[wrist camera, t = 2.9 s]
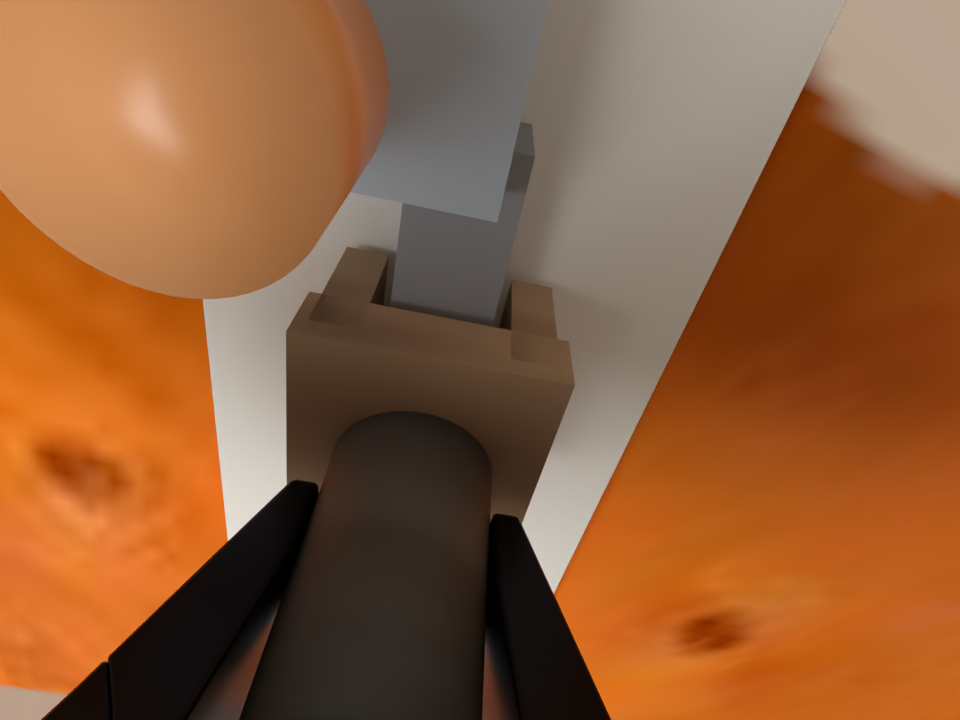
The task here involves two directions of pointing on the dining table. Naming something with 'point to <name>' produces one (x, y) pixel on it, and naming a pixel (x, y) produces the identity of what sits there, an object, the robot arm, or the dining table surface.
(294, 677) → the carriage
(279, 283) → the plate
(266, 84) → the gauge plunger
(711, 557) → the dining table surface
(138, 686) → the robot arm
